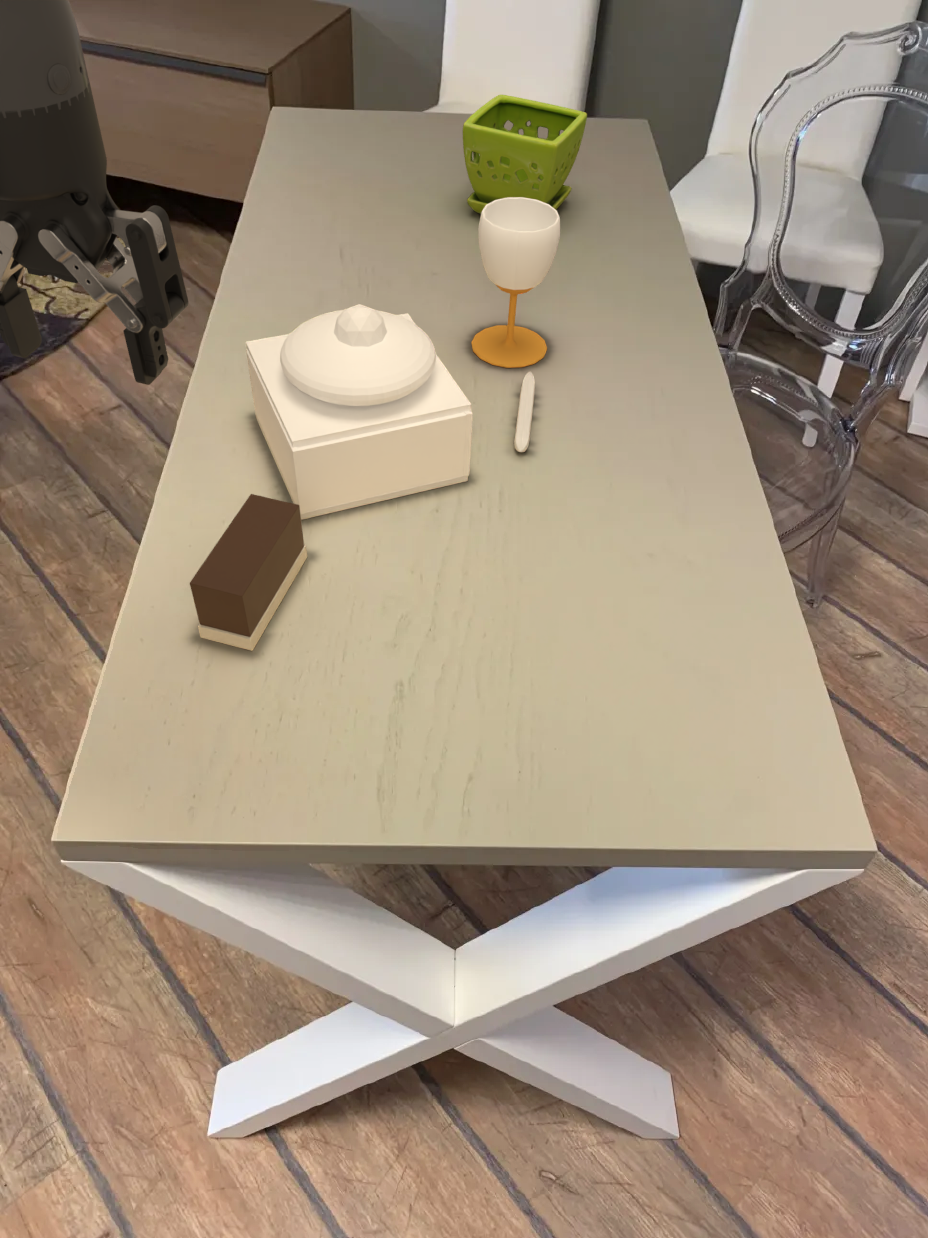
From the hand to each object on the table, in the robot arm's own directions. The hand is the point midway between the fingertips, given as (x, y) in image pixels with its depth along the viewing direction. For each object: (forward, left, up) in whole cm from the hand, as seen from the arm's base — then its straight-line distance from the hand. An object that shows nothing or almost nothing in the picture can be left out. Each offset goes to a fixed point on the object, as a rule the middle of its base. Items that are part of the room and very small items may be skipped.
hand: (88, 363), depth 59 cm
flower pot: (+7, +91, -28) cm, 95 cm away
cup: (+15, +55, -28) cm, 63 cm away
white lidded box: (+5, +31, -28) cm, 42 cm away
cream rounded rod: (+20, +42, -28) cm, 54 cm away
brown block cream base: (+4, +8, -28) cm, 29 cm away
